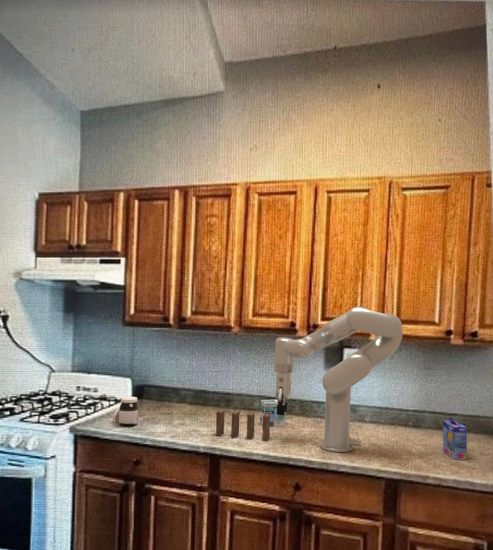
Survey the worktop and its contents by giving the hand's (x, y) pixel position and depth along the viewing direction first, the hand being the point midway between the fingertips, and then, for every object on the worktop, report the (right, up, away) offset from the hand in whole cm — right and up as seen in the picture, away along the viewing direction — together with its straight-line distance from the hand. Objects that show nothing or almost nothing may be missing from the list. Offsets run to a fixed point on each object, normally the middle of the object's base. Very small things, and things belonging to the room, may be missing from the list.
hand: (281, 412), depth 209 cm
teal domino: (0, -2, 0) cm, 2 cm away
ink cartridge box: (+65, -13, -13) cm, 67 cm away
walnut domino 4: (-6, -11, +1) cm, 13 cm away
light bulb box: (-2, -12, +25) cm, 28 cm away
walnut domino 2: (-19, -11, +4) cm, 22 cm away
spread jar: (-68, -10, +17) cm, 71 cm away
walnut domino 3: (-13, -11, +2) cm, 17 cm away
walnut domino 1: (-25, -11, +5) cm, 28 cm away
